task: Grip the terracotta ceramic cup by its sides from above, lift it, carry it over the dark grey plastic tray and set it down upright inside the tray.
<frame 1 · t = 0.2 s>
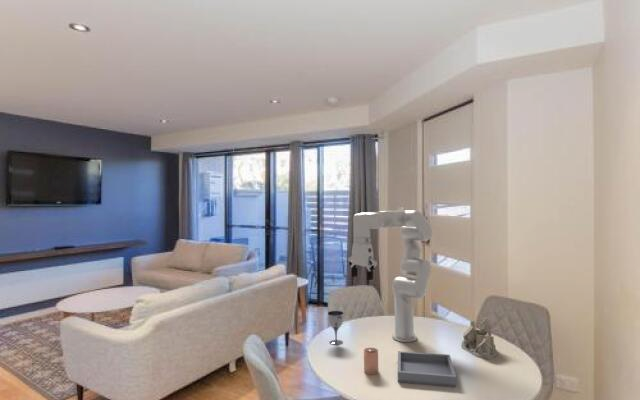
hand: (362, 278, 166), 37 cm above the table, tool pointing down, fingers open, 9 cm apart
wine glass: (336, 342, 185), on the table
tray: (425, 372, 151), on the table
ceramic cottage: (478, 351, 172), on the table
cup: (371, 371, 153), on the table
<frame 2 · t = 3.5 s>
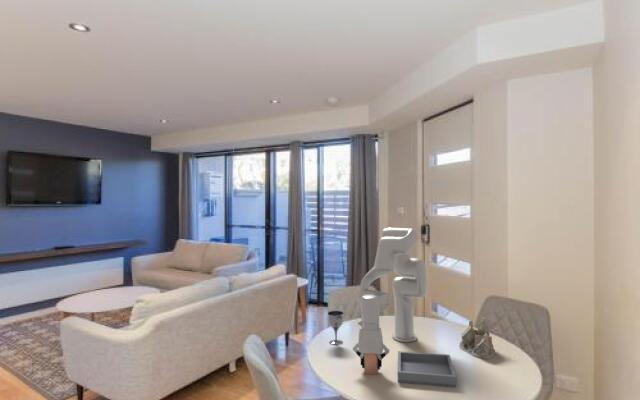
hand: (371, 367, 153), 2 cm above the table, tool pointing down, fingers closed on cup, 6 cm apart
cup: (371, 371, 153), on the table, touching gripper
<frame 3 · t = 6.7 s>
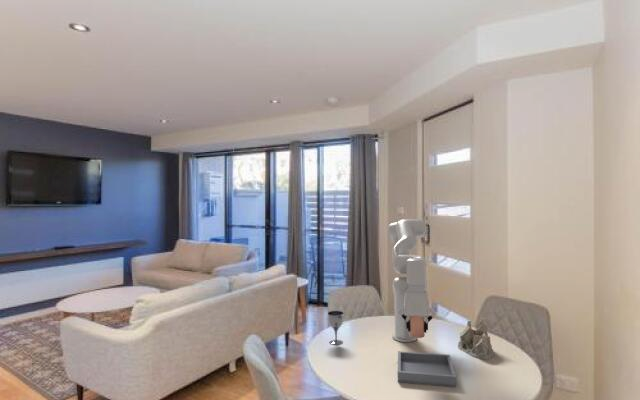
hand: (417, 330, 152), 17 cm above the table, tool pointing down, fingers closed on cup, 6 cm apart
cup: (417, 335, 152), point 16 cm above the table, touching gripper
when the fingers open (4 cm above the table, at t = 10.1 s): cup drops 1 cm, resting on tray.
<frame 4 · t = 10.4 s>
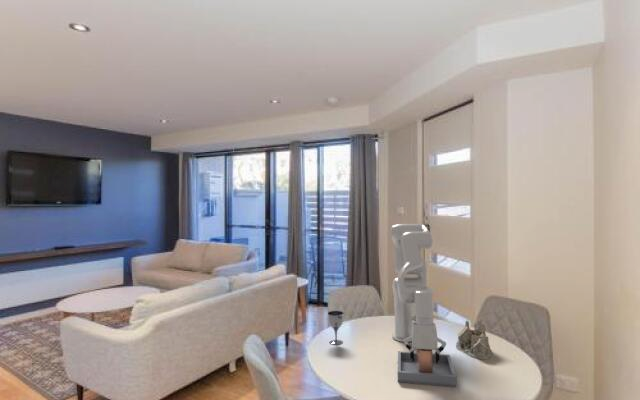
hand: (424, 361, 151), 5 cm above the table, tool pointing down, fingers open, 9 cm apart
cup: (425, 370, 151), point 1 cm above the table, touching tray
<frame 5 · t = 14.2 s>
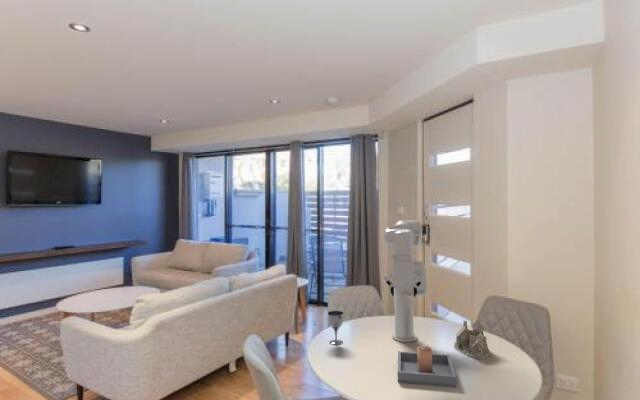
hand: (403, 295, 166), 28 cm above the table, tool pointing down, fingers open, 9 cm apart
at the end: cup inside the target area on the tray (0.0 cm from its centre), point 1.0 cm above the tray's base; cup tilted 0°; the gripper is holding nothing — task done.
